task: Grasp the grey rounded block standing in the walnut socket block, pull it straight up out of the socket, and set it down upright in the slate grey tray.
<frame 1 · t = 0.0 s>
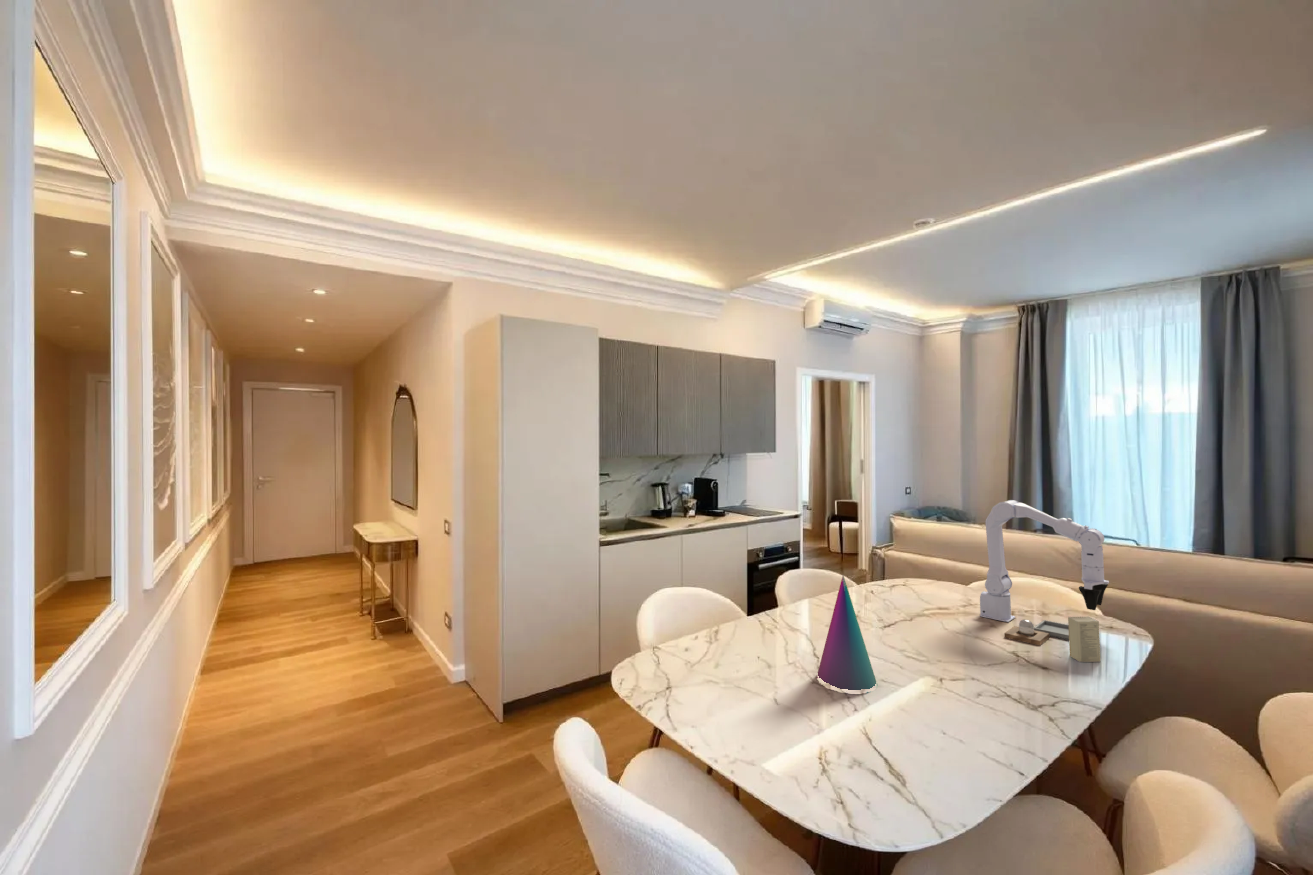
hand: (1094, 606, 176), 10 cm above the table, tool pointing down, fingers open, 7 cm apart
socket block: (1026, 637, 177), on the table
skincare box: (1084, 659, 159), on the table
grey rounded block: (1026, 628, 177), in the socket block
tray: (1059, 632, 181), on the table
decorative cone: (846, 681, 148), on the table
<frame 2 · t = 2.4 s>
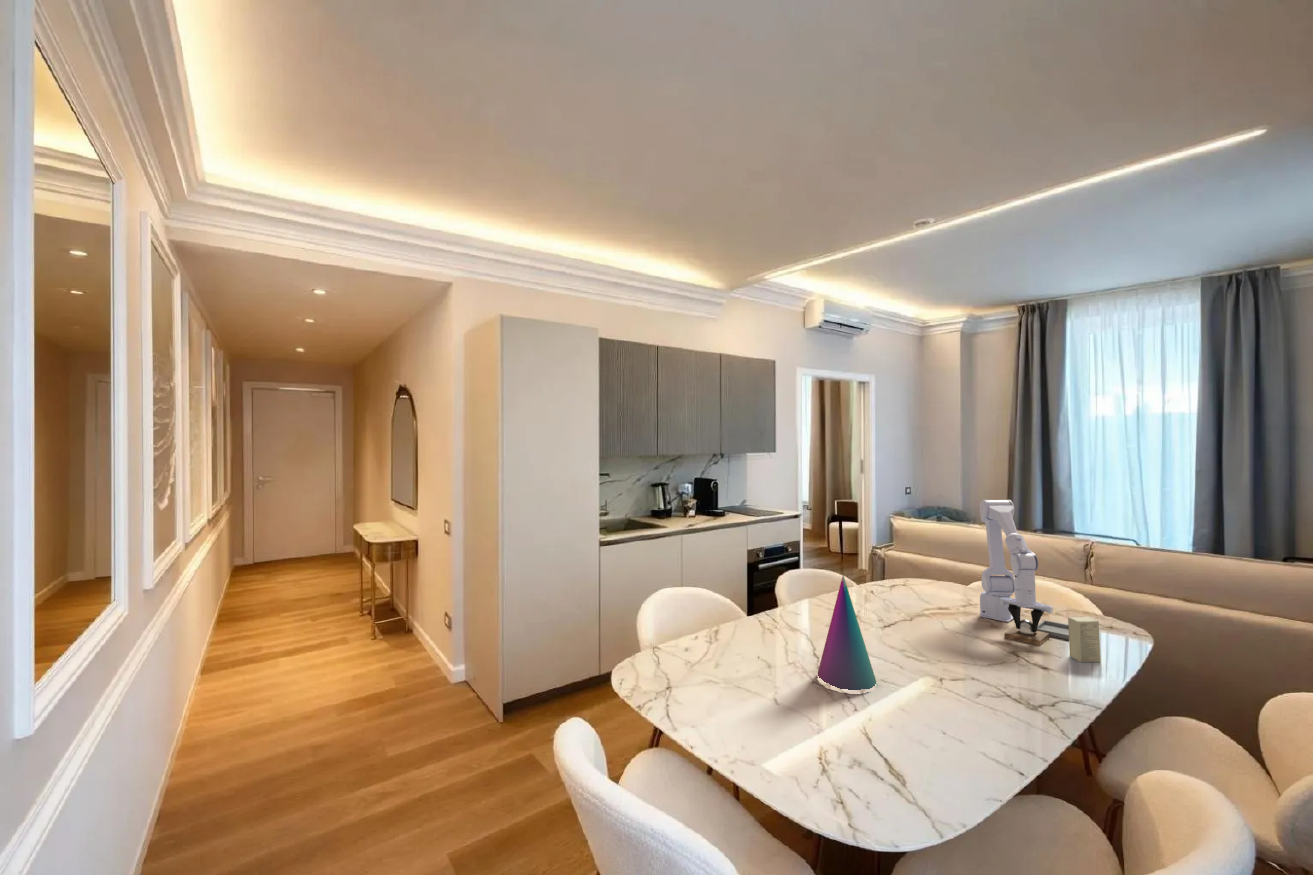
hand: (1026, 629, 177), 3 cm above the table, tool pointing down, fingers closed on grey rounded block, 4 cm apart
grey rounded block: (1026, 628, 177), in the socket block, touching gripper
everything else where it was.
when the fingers open (4 cm above the table, at t = 7.7 s): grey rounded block stays where it is, resting on tray.
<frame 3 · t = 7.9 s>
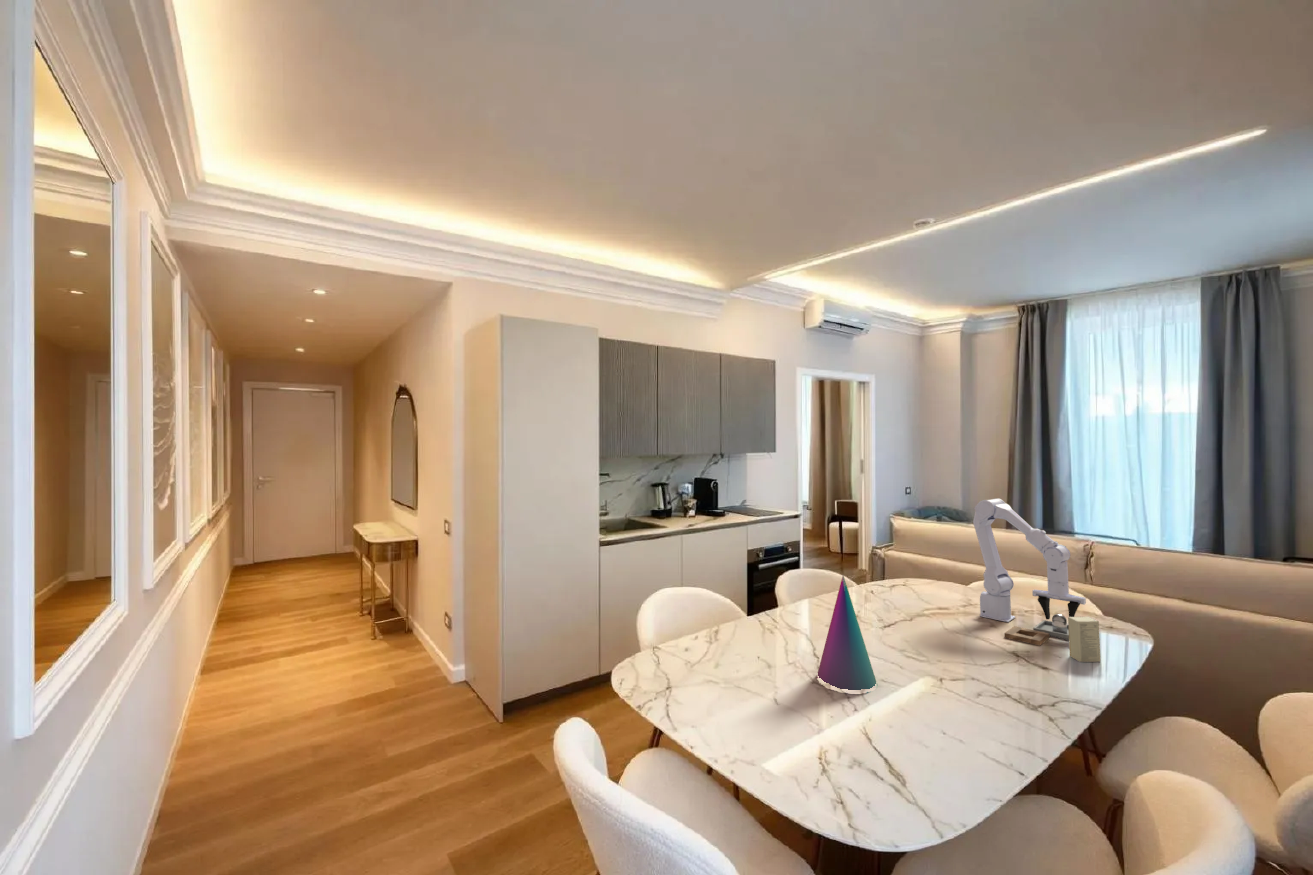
hand: (1059, 620, 181), 4 cm above the table, tool pointing down, fingers open, 6 cm apart
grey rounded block: (1059, 622, 181), in the tray
everything else where it was.
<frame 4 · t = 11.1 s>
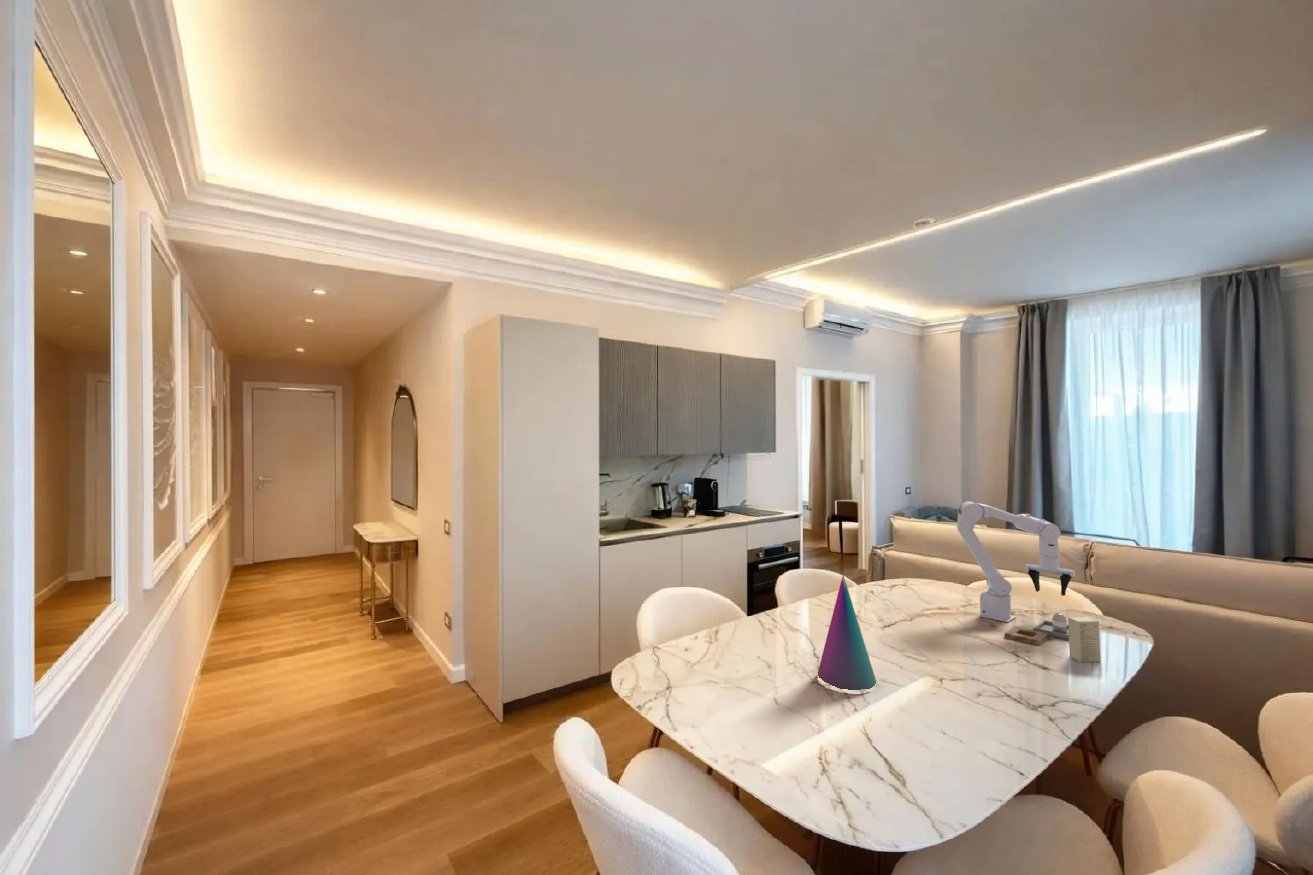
hand: (1050, 593, 192), 10 cm above the table, tool pointing down, fingers open, 7 cm apart
nothing on the table moved.
at the end: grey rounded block inside the target area on the tray (0.1 cm from its centre), point 3.4 cm above the tray's base; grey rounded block tilted 0°; the gripper is holding nothing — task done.
